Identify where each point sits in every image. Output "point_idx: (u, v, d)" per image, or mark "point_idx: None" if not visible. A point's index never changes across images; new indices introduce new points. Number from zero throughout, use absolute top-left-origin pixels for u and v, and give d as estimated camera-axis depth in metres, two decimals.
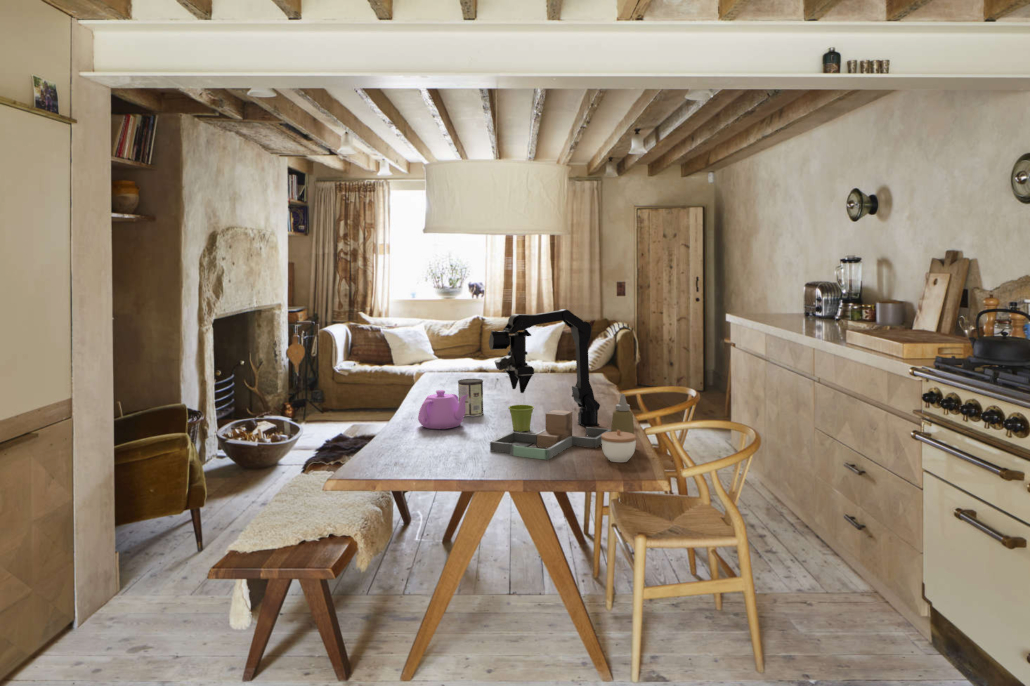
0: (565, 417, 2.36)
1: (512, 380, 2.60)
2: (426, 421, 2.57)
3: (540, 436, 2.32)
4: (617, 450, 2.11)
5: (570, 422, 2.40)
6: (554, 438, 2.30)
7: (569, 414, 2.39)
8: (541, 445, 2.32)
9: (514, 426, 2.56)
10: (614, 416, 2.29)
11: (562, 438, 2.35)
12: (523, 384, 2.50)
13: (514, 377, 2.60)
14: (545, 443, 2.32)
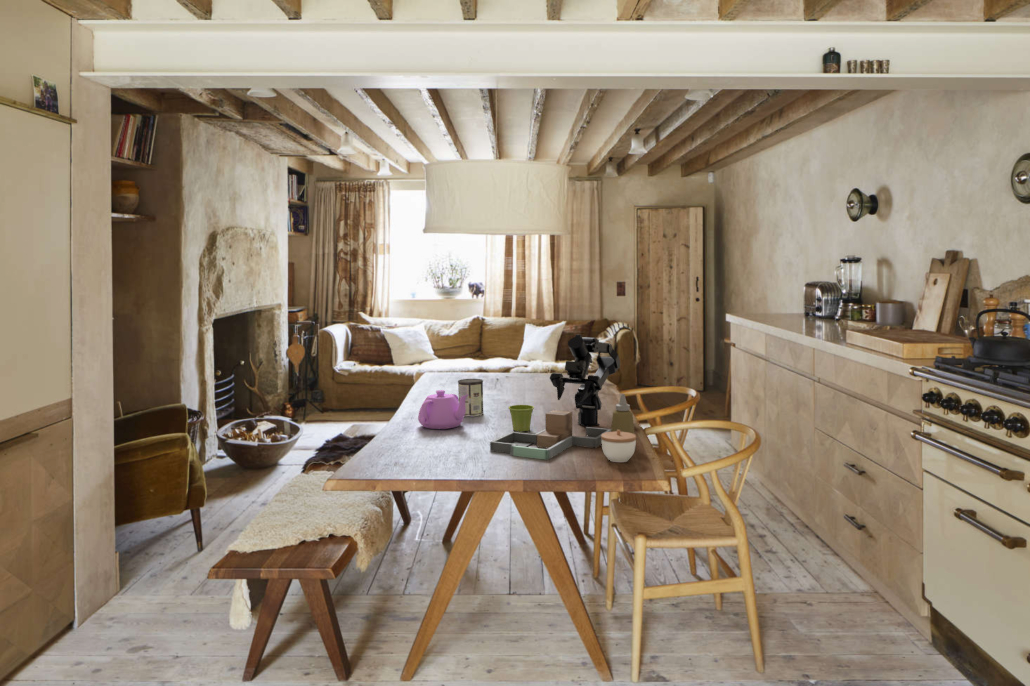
0: (565, 417, 2.36)
1: (560, 391, 2.52)
2: (426, 421, 2.57)
3: (540, 436, 2.32)
4: (617, 450, 2.11)
5: (570, 422, 2.40)
6: (554, 438, 2.30)
7: (569, 414, 2.39)
8: (541, 445, 2.32)
9: (514, 426, 2.56)
10: (614, 416, 2.29)
11: (562, 438, 2.35)
12: (586, 394, 2.48)
13: (561, 390, 2.54)
14: (545, 443, 2.32)
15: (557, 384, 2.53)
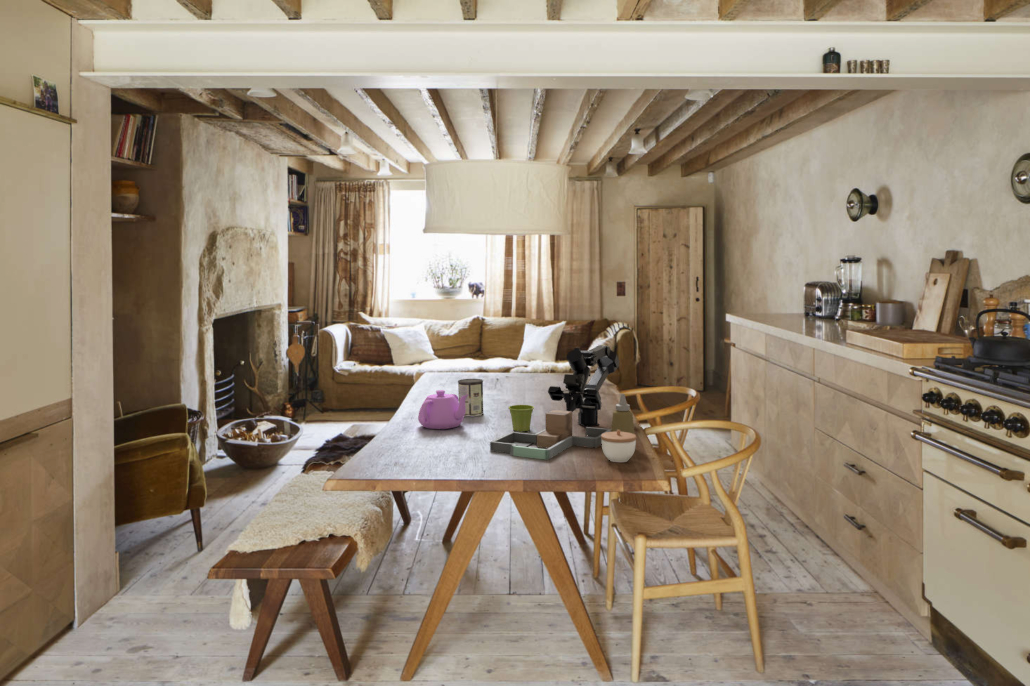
0: (565, 417, 2.36)
1: (569, 405, 2.49)
2: (426, 421, 2.57)
3: (540, 436, 2.32)
4: (617, 450, 2.11)
5: (570, 422, 2.40)
6: (554, 438, 2.30)
7: (569, 414, 2.39)
8: (541, 445, 2.32)
9: (514, 426, 2.56)
10: (614, 416, 2.29)
11: (562, 438, 2.35)
12: (574, 407, 2.49)
13: (570, 404, 2.50)
14: (545, 443, 2.32)
15: (566, 398, 2.50)
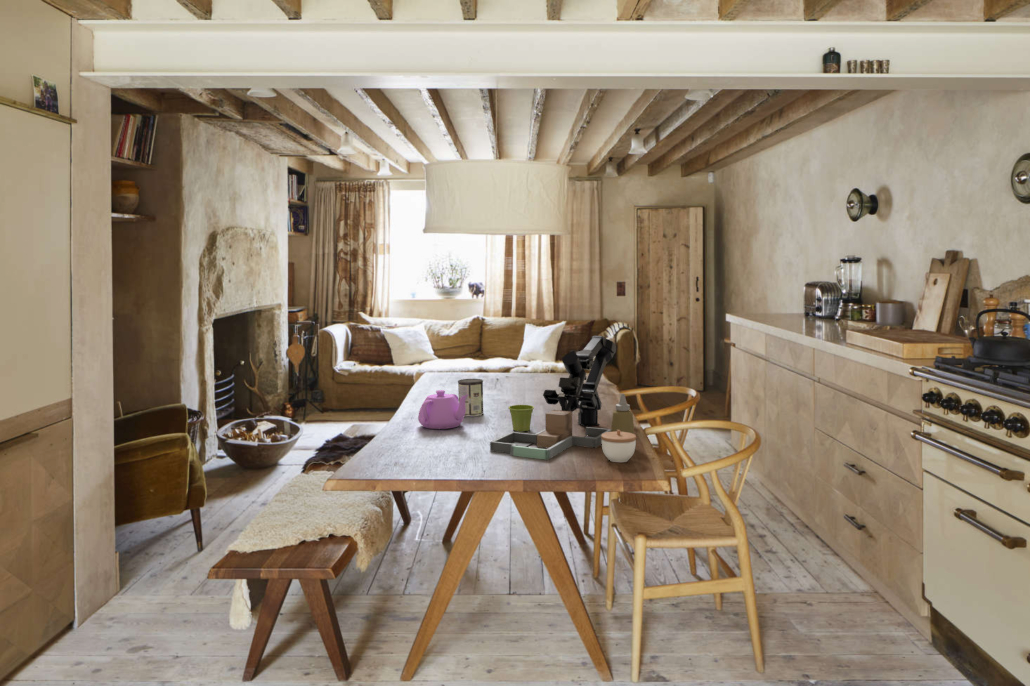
0: (565, 417, 2.36)
1: (564, 409, 2.45)
2: (426, 421, 2.57)
3: (540, 436, 2.32)
4: (617, 450, 2.11)
5: (570, 422, 2.40)
6: (554, 438, 2.30)
7: (569, 414, 2.39)
8: (541, 445, 2.32)
9: (514, 426, 2.56)
10: (614, 416, 2.29)
11: (562, 438, 2.35)
12: (569, 410, 2.45)
13: None
14: (545, 443, 2.32)
15: (561, 402, 2.46)
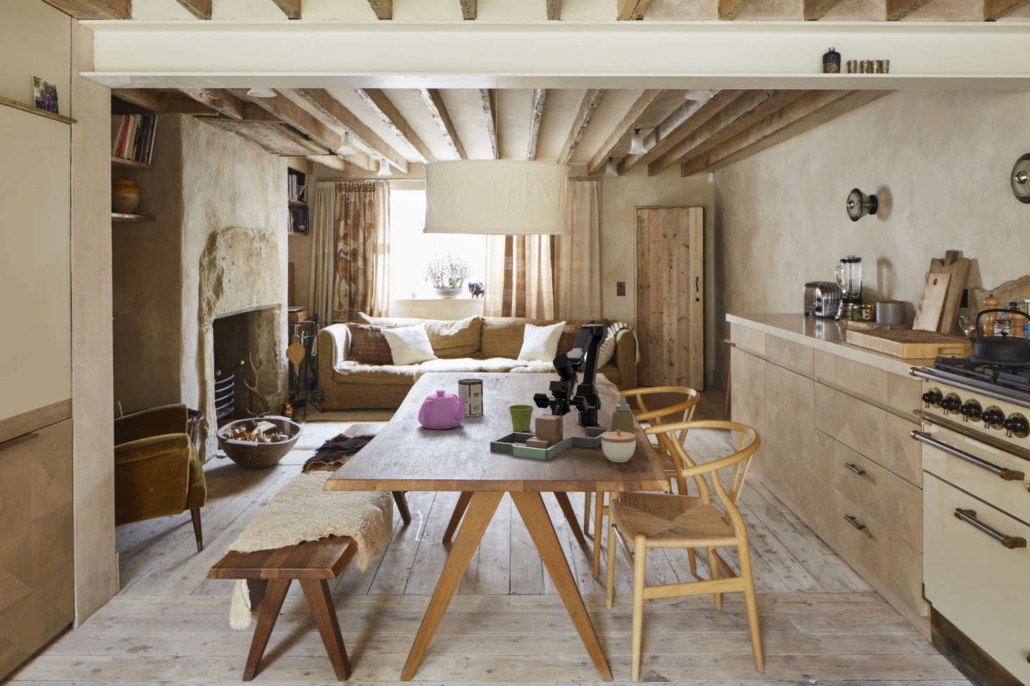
0: (555, 422, 2.29)
1: (555, 413, 2.38)
2: (426, 421, 2.57)
3: (529, 441, 2.25)
4: (617, 450, 2.11)
5: (561, 427, 2.33)
6: (544, 444, 2.23)
7: (559, 419, 2.32)
8: None
9: (514, 426, 2.56)
10: (614, 416, 2.29)
11: (552, 443, 2.27)
12: (560, 415, 2.38)
13: (556, 412, 2.39)
14: None
15: (552, 406, 2.39)
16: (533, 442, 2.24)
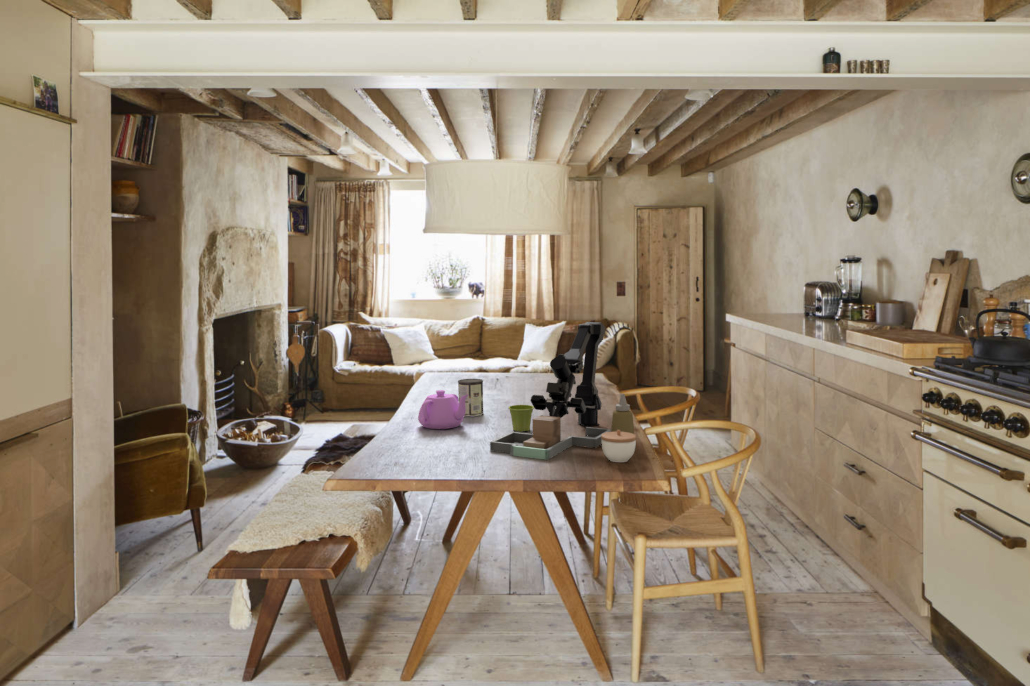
0: (553, 423, 2.27)
1: (552, 415, 2.36)
2: (426, 421, 2.57)
3: (526, 443, 2.23)
4: (617, 450, 2.11)
5: (558, 428, 2.31)
6: (541, 445, 2.21)
7: (557, 420, 2.30)
8: None
9: (514, 426, 2.56)
10: (614, 416, 2.29)
11: (549, 445, 2.25)
12: None
13: None
14: None
15: (549, 408, 2.37)
16: (530, 444, 2.22)
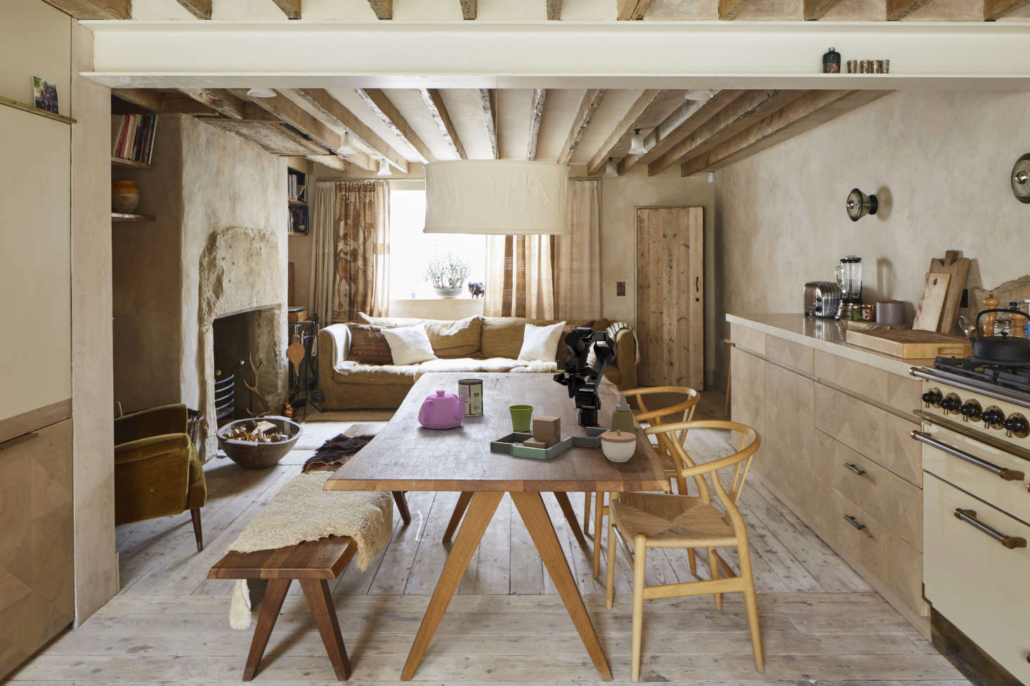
0: (553, 423, 2.27)
1: None
2: (426, 421, 2.57)
3: (526, 443, 2.23)
4: (617, 450, 2.11)
5: (558, 428, 2.31)
6: (541, 445, 2.21)
7: (557, 420, 2.30)
8: None
9: (514, 426, 2.56)
10: (614, 416, 2.29)
11: (549, 445, 2.25)
12: (575, 389, 2.50)
13: None
14: None
15: (567, 383, 2.52)
16: (530, 444, 2.22)
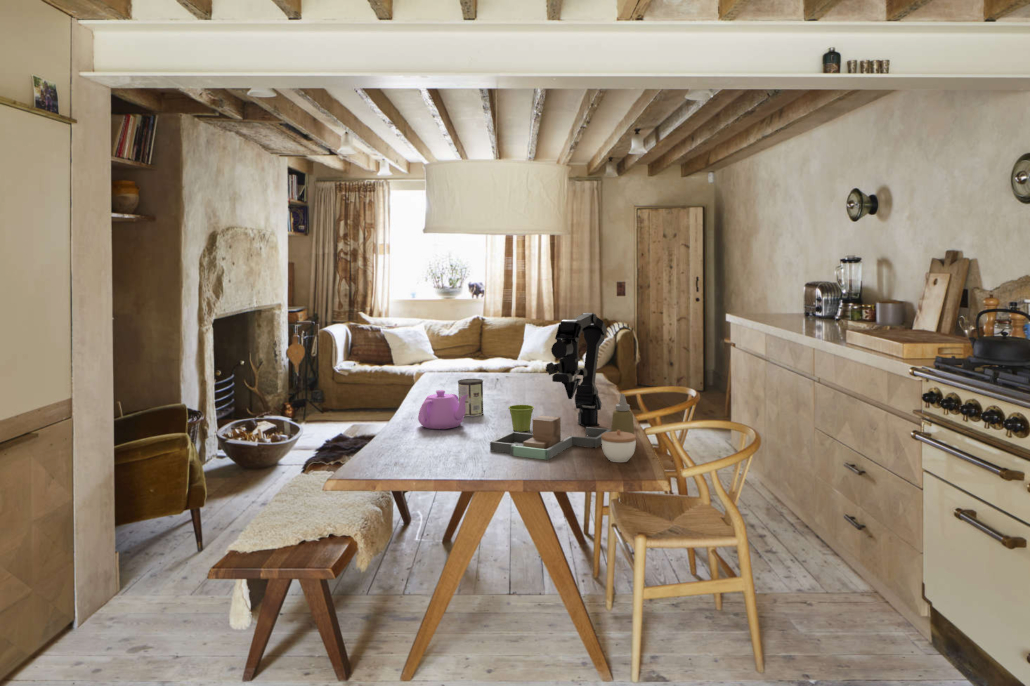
0: (553, 423, 2.27)
1: None
2: (426, 421, 2.57)
3: (526, 443, 2.23)
4: (617, 450, 2.11)
5: (558, 428, 2.31)
6: (541, 445, 2.21)
7: (557, 420, 2.30)
8: None
9: (514, 426, 2.56)
10: (614, 416, 2.29)
11: (549, 445, 2.25)
12: (569, 390, 2.47)
13: None
14: None
15: None
16: (530, 444, 2.22)
